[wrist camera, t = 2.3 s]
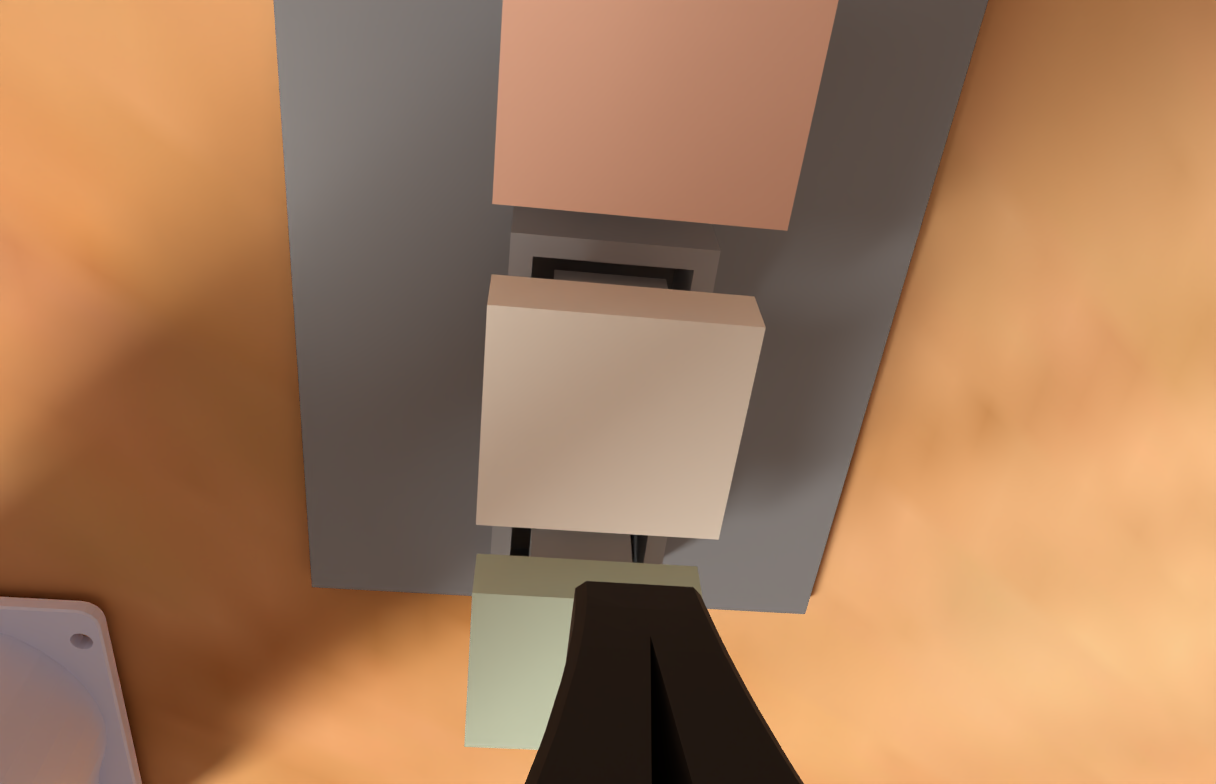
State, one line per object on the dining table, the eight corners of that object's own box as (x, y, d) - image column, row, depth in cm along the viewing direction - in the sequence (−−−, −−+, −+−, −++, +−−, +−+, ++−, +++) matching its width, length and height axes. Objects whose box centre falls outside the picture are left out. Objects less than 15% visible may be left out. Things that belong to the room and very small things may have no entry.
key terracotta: (746, 148, 16) (788, 230, 13) (505, 124, 16) (492, 203, 13) (797, -121, 14) (859, -95, 11) (521, -155, 14) (509, -138, 11)
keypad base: (801, 602, 25) (823, 676, 23) (315, 575, 24) (292, 650, 22) (1029, -172, 16) (1098, -164, 14) (262, -273, 15) (214, -281, 13)
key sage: (656, 623, 22) (670, 755, 19) (478, 614, 22) (464, 746, 19) (682, 482, 20) (704, 605, 17) (486, 469, 20) (472, 593, 17)
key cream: (694, 422, 19) (718, 539, 16) (489, 407, 19) (475, 524, 16) (731, 232, 17) (766, 327, 14) (500, 211, 17) (486, 305, 14)
